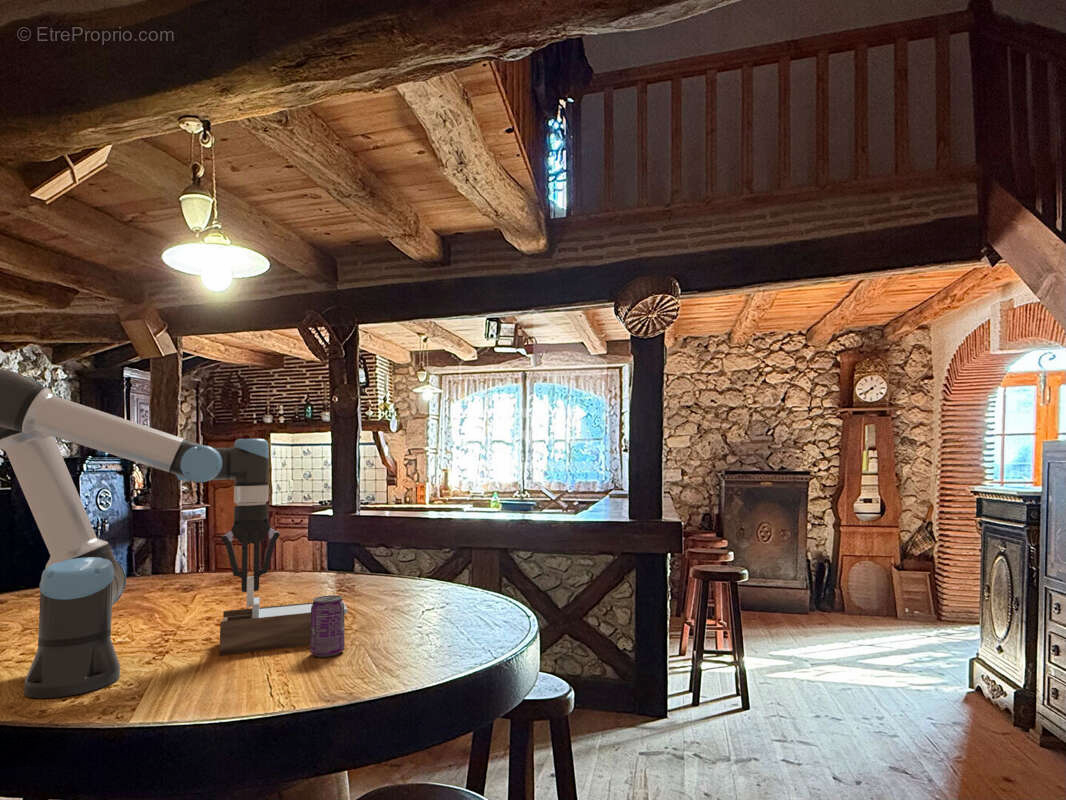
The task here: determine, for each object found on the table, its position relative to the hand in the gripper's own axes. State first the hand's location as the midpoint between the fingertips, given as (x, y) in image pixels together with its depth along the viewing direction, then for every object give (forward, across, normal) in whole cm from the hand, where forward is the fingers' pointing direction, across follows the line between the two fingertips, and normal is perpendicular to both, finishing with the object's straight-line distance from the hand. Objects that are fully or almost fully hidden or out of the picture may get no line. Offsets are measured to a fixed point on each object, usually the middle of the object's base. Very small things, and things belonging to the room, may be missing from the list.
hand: (250, 605), depth 152 cm
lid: (+3, -11, 0) cm, 11 cm away
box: (+9, -5, 0) cm, 10 cm away
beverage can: (+9, -16, +16) cm, 24 cm away
